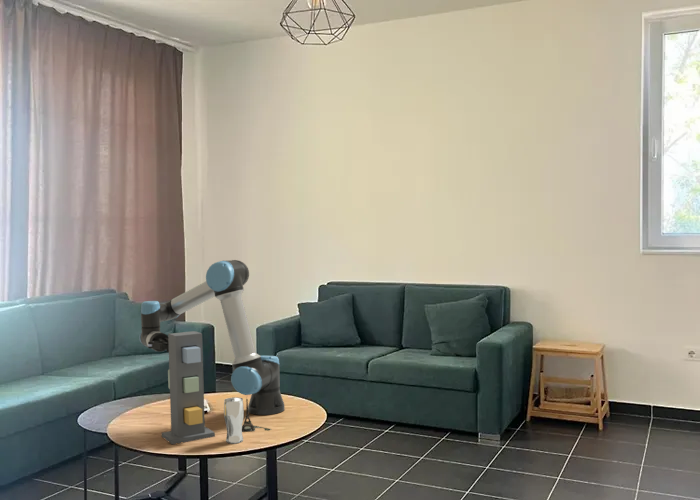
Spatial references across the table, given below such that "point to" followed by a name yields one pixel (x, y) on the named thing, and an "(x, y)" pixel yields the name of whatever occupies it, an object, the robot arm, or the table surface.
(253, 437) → the table surface
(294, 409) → the table surface
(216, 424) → the table surface
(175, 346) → the button column
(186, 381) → the sage button
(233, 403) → the beer glass
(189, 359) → the blue button
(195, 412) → the amber button
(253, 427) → the eiffel tower figurine
